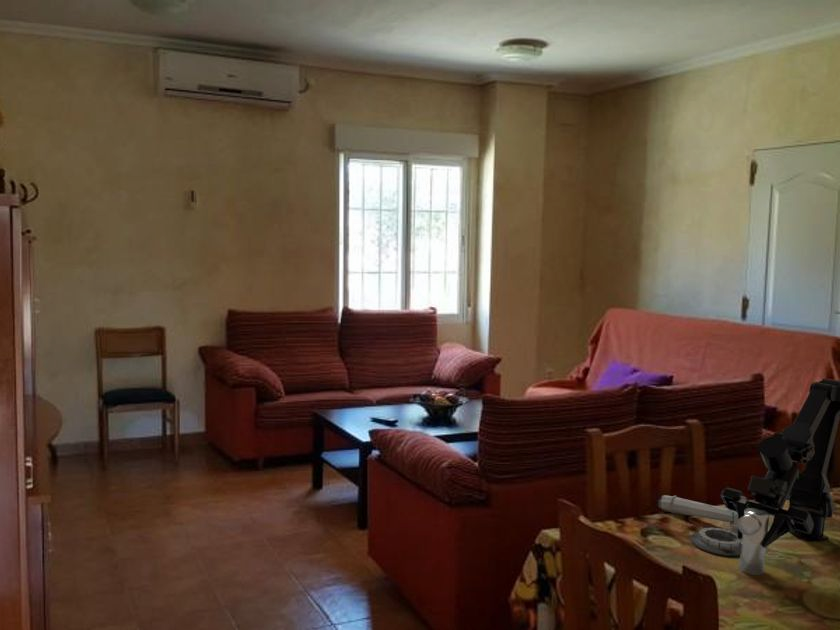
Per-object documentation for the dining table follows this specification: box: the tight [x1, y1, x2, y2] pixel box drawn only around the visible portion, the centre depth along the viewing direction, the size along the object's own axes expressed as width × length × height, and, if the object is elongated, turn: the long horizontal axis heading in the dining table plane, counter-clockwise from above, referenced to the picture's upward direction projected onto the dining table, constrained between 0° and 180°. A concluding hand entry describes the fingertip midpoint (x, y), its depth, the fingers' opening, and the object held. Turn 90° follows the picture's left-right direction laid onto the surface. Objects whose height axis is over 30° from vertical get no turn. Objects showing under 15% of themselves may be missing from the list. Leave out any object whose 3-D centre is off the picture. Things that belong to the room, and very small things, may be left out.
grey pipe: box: [658, 494, 738, 534], centre depth 197 cm, size 5×7×25 cm
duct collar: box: [690, 527, 742, 558], centre depth 183 cm, size 13×13×2 cm
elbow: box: [737, 508, 770, 576], centre depth 169 cm, size 7×5×13 cm
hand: (751, 542), depth 169 cm, fingers open, 5 cm apart
